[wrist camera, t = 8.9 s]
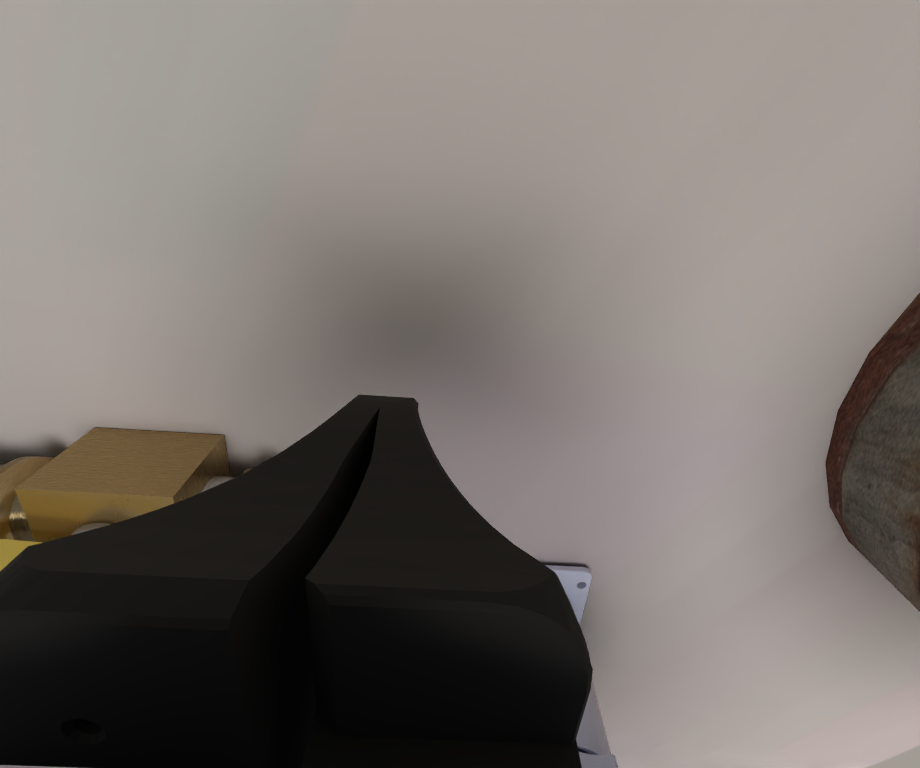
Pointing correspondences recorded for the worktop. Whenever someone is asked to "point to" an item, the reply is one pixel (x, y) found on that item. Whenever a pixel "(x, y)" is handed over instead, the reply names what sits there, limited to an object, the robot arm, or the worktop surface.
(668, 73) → the worktop surface
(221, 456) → the valve body
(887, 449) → the barrel
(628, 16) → the worktop surface
